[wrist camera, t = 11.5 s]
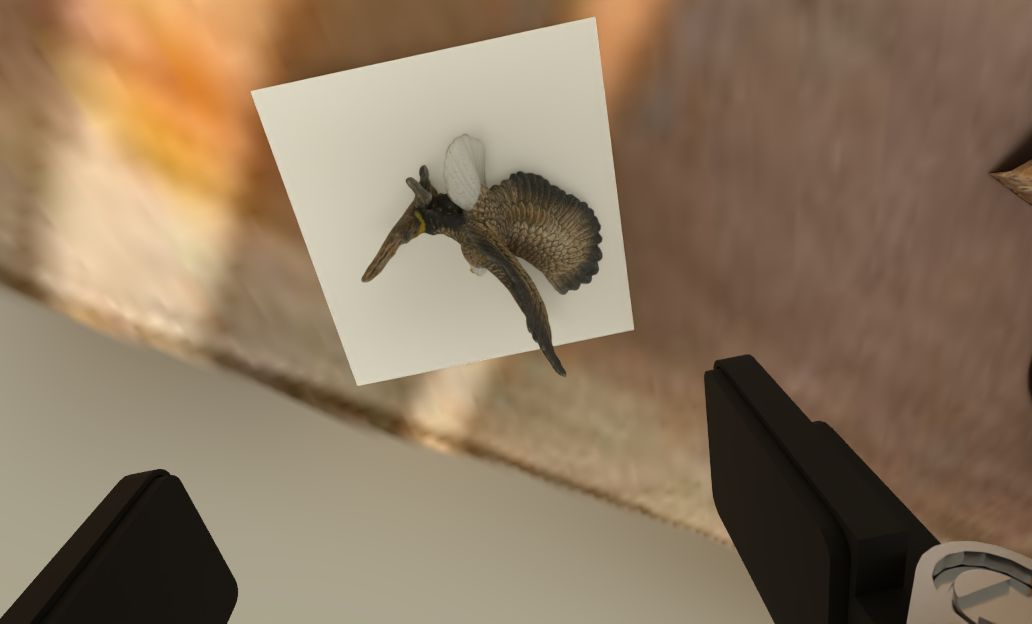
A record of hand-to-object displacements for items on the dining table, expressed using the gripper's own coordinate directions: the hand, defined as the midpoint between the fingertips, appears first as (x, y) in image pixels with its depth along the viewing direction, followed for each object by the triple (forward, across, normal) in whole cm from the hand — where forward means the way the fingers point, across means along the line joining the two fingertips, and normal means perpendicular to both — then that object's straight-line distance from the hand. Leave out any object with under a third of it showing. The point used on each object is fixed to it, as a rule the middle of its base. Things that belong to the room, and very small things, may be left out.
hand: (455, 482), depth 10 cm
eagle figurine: (+17, -1, +1) cm, 17 cm away
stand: (+22, 0, 0) cm, 22 cm away
